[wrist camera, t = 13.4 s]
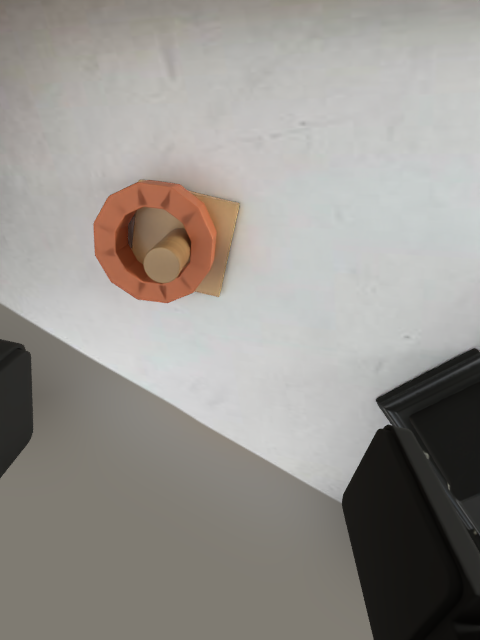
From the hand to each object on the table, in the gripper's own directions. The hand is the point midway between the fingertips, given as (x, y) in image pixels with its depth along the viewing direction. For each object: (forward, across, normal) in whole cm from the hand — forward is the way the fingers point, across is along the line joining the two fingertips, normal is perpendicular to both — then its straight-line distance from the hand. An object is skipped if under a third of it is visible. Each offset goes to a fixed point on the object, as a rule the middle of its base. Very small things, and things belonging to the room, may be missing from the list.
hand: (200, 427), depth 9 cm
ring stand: (+22, +5, +1) cm, 23 cm away
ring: (+21, +6, +1) cm, 22 cm away
